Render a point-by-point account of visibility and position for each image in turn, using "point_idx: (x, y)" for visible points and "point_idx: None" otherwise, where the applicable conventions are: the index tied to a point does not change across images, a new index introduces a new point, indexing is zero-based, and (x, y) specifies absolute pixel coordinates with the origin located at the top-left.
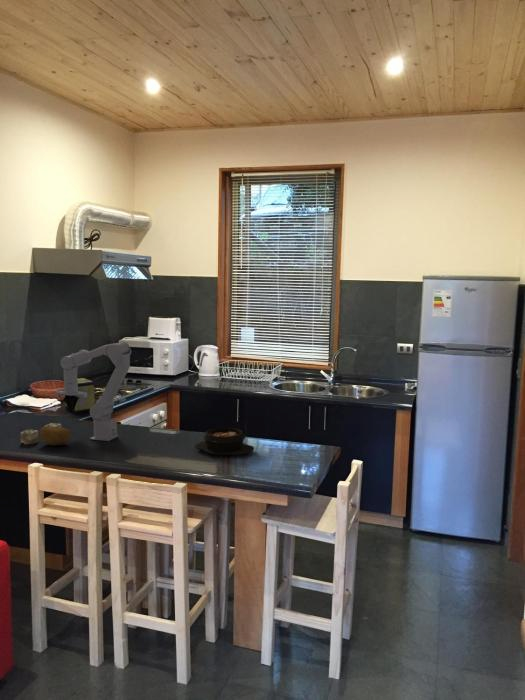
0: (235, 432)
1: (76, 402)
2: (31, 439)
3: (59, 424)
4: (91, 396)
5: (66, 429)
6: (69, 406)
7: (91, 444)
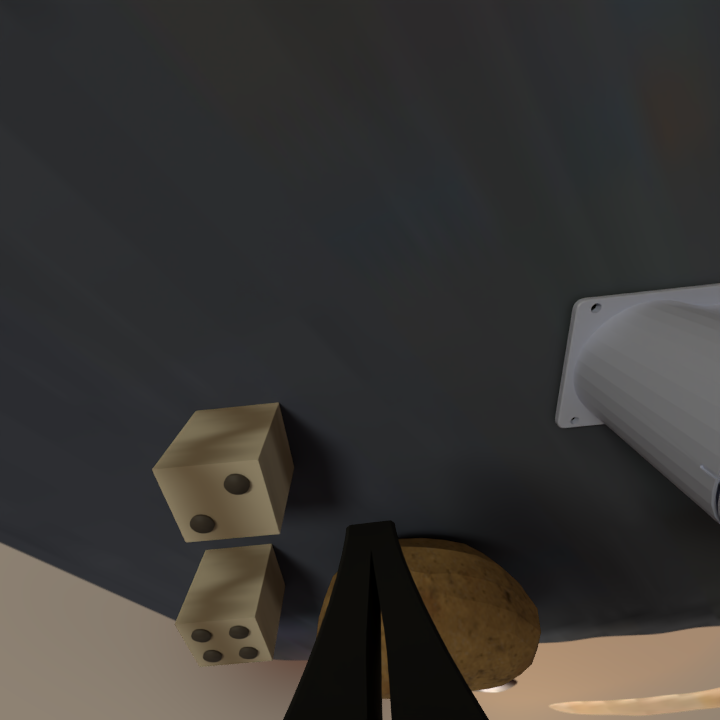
0: None
1: (477, 708)
2: (279, 613)
3: (260, 476)
4: None
5: (524, 658)
6: (379, 694)
7: (607, 485)
